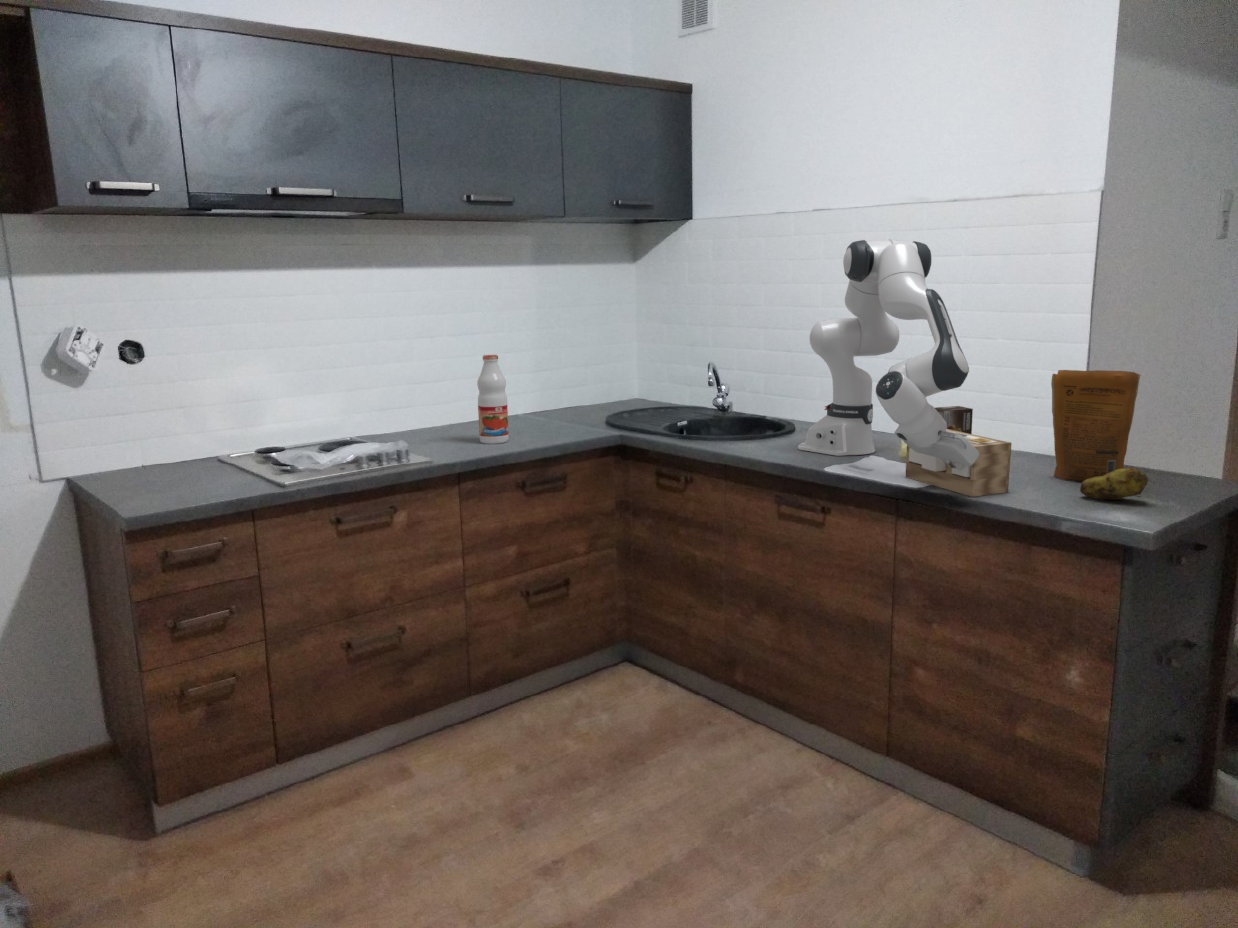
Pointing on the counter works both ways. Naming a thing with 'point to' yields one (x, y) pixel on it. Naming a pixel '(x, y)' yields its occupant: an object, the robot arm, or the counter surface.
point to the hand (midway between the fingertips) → (956, 466)
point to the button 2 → (962, 471)
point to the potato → (1115, 484)
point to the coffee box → (957, 418)
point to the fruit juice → (492, 403)
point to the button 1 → (915, 456)
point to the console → (985, 471)
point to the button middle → (933, 463)
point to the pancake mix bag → (1091, 421)
